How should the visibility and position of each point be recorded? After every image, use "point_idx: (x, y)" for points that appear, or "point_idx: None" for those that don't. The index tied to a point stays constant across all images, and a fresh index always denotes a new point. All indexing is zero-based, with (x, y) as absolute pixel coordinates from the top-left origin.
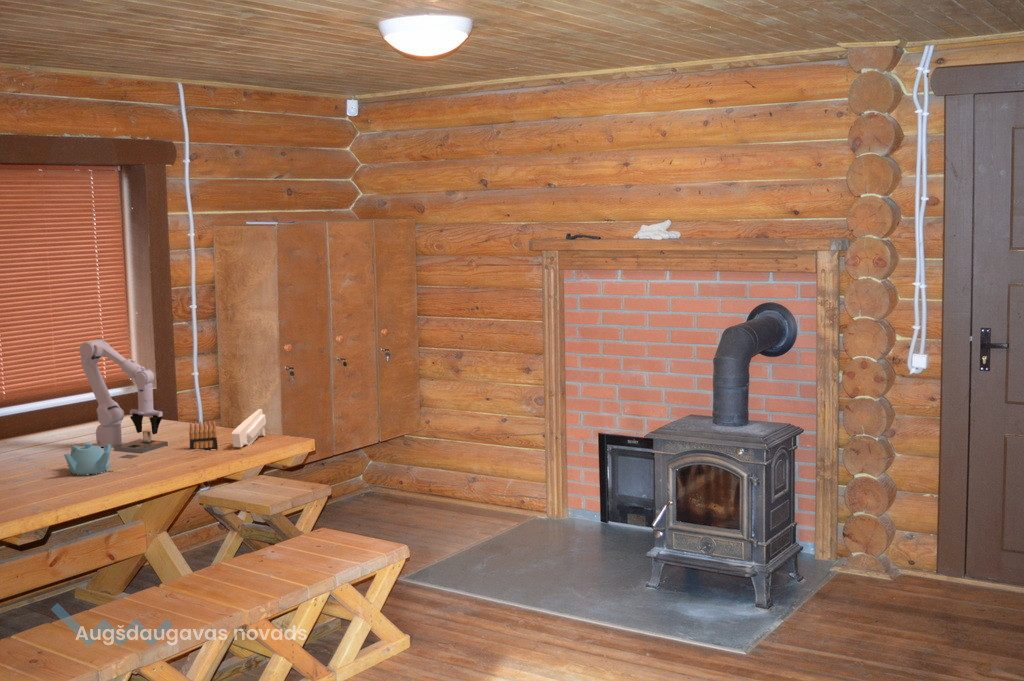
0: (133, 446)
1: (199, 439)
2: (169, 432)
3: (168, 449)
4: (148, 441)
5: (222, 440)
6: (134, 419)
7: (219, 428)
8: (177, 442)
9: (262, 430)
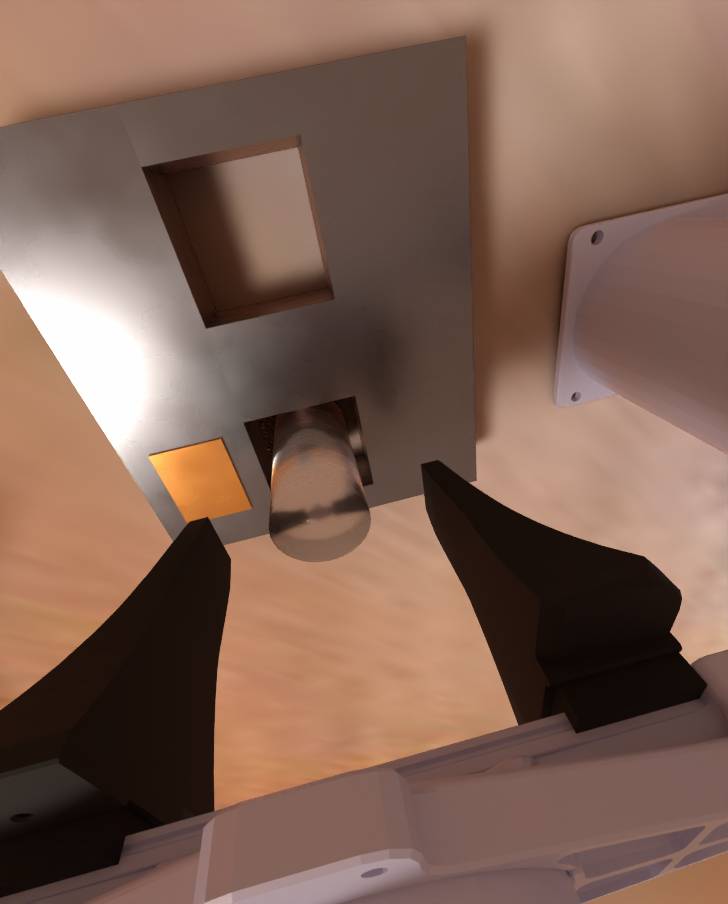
0: (333, 295)
1: None
2: None
3: (120, 490)
4: (274, 448)
5: None
6: (527, 569)
7: None
8: (294, 614)
9: None
